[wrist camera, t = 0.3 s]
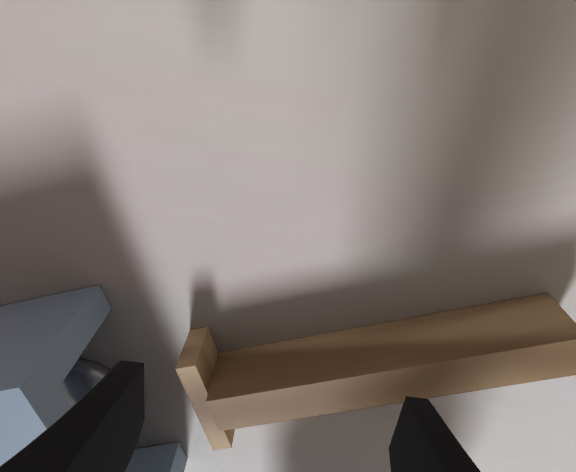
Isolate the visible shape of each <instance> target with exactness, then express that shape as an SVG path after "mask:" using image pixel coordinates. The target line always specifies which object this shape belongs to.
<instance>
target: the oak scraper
mask: <svg viewBox="0 0 576 472" xmlns="http://www.w3.org/2000/svg"><path fill="white" fill-rule="evenodd" d="M175 370H176V372H177V374H178V376H179V378H180V380H181V382H182V385H183V387H184V389H185V391H186V393H187V395H188V397H189V400H190V402H191V404H192V406H193V408H194V410H195V412H196V415H197V417H198V419H199V421H200V423H201V425H202V427H203V430H204V432H205V434H206V436H207V438H208V440H209V442H210V445H211V447H212V449H213V450H219V449H226V448H232V442H233V436H234V430H235V429H237V428H243V427H250V426H256V425H262V424H269V423H275V422H281V421H288V420H294V419H300V418H307V417H313V416H319V415H326V414H332V413H338V412H344V411H351V410H357V409H363V408H370V407H376V406H382V405H389V404H395V403H401V402H404V401H405V398H406V396H409V397H417V398H425V399H427V398H433V397H439V396H446V395H452V394H458V393H465V392H471V391H477V390H484V389H490V388H496V387H503V386H509V385H515V384H522V383H528V382H534V381H540V380H547V379H553V378H559V377H566V376H572V375H576V323H575V322H574V321H573V320H572V319H571V317H570V316H569V315H568V314H567V313H566V312H565V311H564V310H563V309H562V308H561V306H560V305H559V304H558V303H557V302H556V301H555V300H554V299H553V298H552V296H551V295H550V294H549V293H542V294H537V295H531V296H526V297H520V298H515V299H510V300H504V301H499V302H493V303H488V304H482V305H477V306H471V307H466V308H461V309H455V310H450V311H444V312H439V313H433V314H428V315H422V316H417V317H412V318H406V319H401V320H395V321H390V322H384V323H379V324H373V325H368V326H363V327H357V328H352V329H346V330H341V331H335V332H330V333H324V334H319V335H314V336H308V337H303V338H297V339H292V340H286V341H281V342H275V343H270V344H265V345H259V346H254V347H248V348H243V349H237V350H232V351H227V352H221V353H218V351H217V348H216V346H215V343H214V341H213V338H212V336H211V333H210V331H209V328H208V327H203V328H198V329H192V330H190V331H189V334H188V336H187V339H186V342H185V344H184V347H183V350H182V352H181V355H180V358H179V360H178V363H177V366H176V368H175Z"/></svg>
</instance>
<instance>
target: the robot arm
mask: <svg viewBox="0 0 576 472" xmlns="http://www.w3.org/2000/svg"><path fill="white" fill-rule="evenodd" d="M143 421H144V363H137V362H129V361H120V362H119V363H117V364H116V365H115V366H114V367H113V368H112V369H111V370H110V371H109V372H108V373H107V374H106V375H105V376H104V377H103V378H102V379H101V380H100V381H99V382H98V383H97V384H96V385H95V386H94V387H93V388H92V389H91V390H90V391H89V392H88V393H87V394H86V395H85V396H83V397H82V398H81V399H80V400H79V401H78V402H77V403H76V404H75V405H74V406H73V407H71V408H70V409H69V410H68V411H67V412H66V413H65V414H64V415H63V416H62V417H60V418H59V419H58V420H57V421H56V422H55V423H54V424H52V425H51V426H50V427H49V428H48V429H46V430H45V431H44V432H43V433H42V434H40V435H39V436H38V437H37V438H36V439H34V440H33V441H32V442H31V443H30V444H28V445H27V446H26V447H25V448H23V449H22V450H21V451H20V452H18V453H17V454H16V455H14V456H13V457H12V458H10V459H9V460H8V461H6V462H5V463H4V464H3V465H1V466H0V472H125V471H126V469H127V466H128V464H129V462H130V460H131V457H132V455H133V452H134V449H135V446H136V443H137V440H138V437H139V434H140V431H141V427H142V424H143ZM389 453H390V464H391V472H480V470H479V469H478V468H477V466H476V465H475V464H474V462H473V461H472V460H471V458H470V457H469V456H468V455H467V453H466V452H465V450H464V449H463V448H462V446H461V445H460V444H459V442H458V441H457V439H456V438H455V436H454V435H453V434H452V432H451V431H450V429H449V428H448V427H447V425H446V424H445V422H444V421H443V419H442V418H441V417H440V415H439V414H438V412H437V411H436V409H435V408H434V407H433V405H432V404H431V402H430V401H429V400H428V399H425V398H417V397H409V396H406V398H405V401H404V404H403V407H402V410H401V413H400V416H399V419H398V422H397V425H396V428H395V431H394V434H393V437H392V440H391V443H390V446H389Z"/></svg>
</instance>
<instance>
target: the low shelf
mask: <svg viewBox="0 0 576 472" xmlns="http://www.w3.org/2000/svg"><path fill="white" fill-rule="evenodd" d="M111 310H112V308H111V306H110V304H109V302H108V300H107V298H106V296H105V294H104V292H103V290H102V289H101V287H100V285H97V286H92V287H87V288H82V289H78V290H73V291H68V292H64V293H59V294H54V295H50V296H45V297H40V298H35V299H31V300H26V301H21V302H17V303H12V304H7V305H2V306H0V466H1V465H3V464H4V463H5V462H6V461H8V460H9V459H10V458H12V457H13V456H14V455H16V454H17V453H18V452H20V451H21V450H22V449H23V448H25V447H26V446H27V445H28V444H30V443H31V442H32V441H33V440H34V439H36V438H37V437H38V436H39V435H40V434H42V433H43V432H44V431H45V430H46V429H48V428H49V427H50V426H51V425H52V424H54V423H55V422H56V421H57V420H58V419H59V418H60V417H62V416H63V415H64V414H65V413H66V412H67V411H68V410H69V409H70V408H71V407H70V405H69V403H68V402H67V400H66V398H65V397H64V395H63V394H62V392H61V390H60V389H59V386H60V385H61V383H62V382H63V380H64V379H65V378H66V376H67V375H68V373H69V372H70V370H71V369H72V367H73V366H74V364H75V363H76V361H77V360H78V358H79V357H80V355H81V354H82V352H83V351H84V349H85V348H86V346H87V345H88V344H89V342H90V341H91V339H92V338H93V336H94V335H95V333H96V332H97V330H98V329H99V327H100V326H101V324H102V323H103V321H104V320H105V318H106V317H107V315H108V314H109V313H110V311H111ZM186 462H187V457H186V455H185V453H184V451H183V449H182V447H181V445H180V443H179V442H177V443H171V444H164V445H158V446H151V447H145V448H138V449H134V452H133V455H132V457H131V460H130V462H129V464H128V466H127V469H126V471H125V472H184V469H185V466H186Z"/></svg>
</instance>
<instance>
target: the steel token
mask: <svg viewBox="0 0 576 472" xmlns="http://www.w3.org/2000/svg"><path fill="white" fill-rule="evenodd" d="M109 371H110V369H109V368H107V367H105V366H104V365H102V364H100V363H97V362H95V361H92V360H88V359H83V358H78V360H77V361H76V363H75V364H74V366H73V367H72V369H71V370H70V372H69V373H68V375H67V376H66V378H65V379H64V380H63V382H62V383H61V385H60V386H59V389H60V390H61V392H62V394H63V395H64V397H65V398H66V400H67V402H68V403H69V405H70V407H73V406H74V405H75V404H76V403H77V402H78V401H79V400H80V399H81V398H82V397H83V396H85V395H86V394H87V393H88V392H89V391H90V390H91V389H92V388H93V387H94V386H95V385H96V384H97V383H98V382H99V381H100V380H101V379H102V378H103V377H104V376H105V375H106V374H107V373H108V372H109Z"/></svg>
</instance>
